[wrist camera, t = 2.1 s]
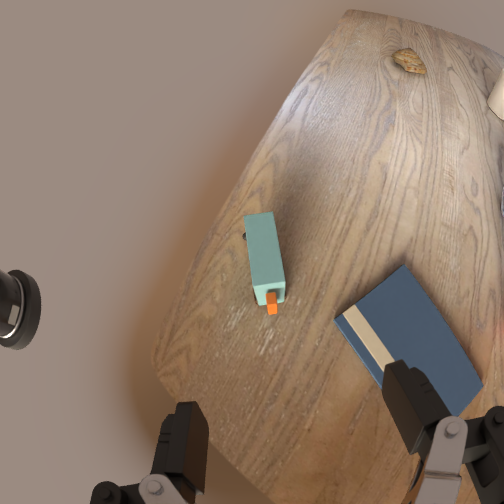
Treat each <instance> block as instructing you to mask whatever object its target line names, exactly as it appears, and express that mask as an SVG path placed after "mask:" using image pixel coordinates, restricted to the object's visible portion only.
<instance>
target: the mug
mask: <svg viewBox="0 0 504 504" xmlns="http://www.w3.org/2000/svg"><path fill="white" fill-rule="evenodd" d="M487 104H488V106H489V107H490V109H491V110H492V111H493V112H494V113H495V114H496V115H497V116H498V117H499V118H500V119H502V120H503V121H504V68H503V69H502V70H501V73H500V75H499V77H498V79H497V81H496V84H495V86H494V88H493V90H492V92H491V94H490V96H489V98H488V100H487Z"/></svg>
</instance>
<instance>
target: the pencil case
mask: <svg viewBox="0 0 504 504" xmlns="http://www.w3.org/2000/svg"><path fill="white" fill-rule="evenodd" d="M501 213H502V215H503V216H504V186H503V191H502V197H501Z"/></svg>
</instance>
